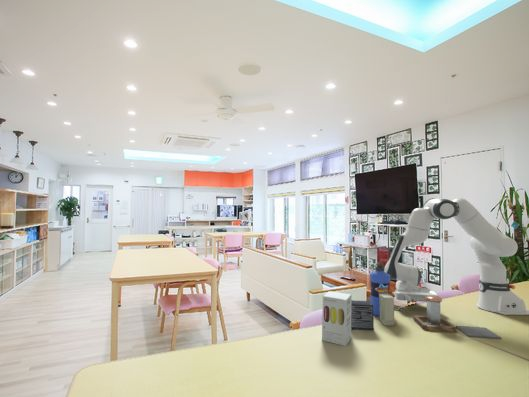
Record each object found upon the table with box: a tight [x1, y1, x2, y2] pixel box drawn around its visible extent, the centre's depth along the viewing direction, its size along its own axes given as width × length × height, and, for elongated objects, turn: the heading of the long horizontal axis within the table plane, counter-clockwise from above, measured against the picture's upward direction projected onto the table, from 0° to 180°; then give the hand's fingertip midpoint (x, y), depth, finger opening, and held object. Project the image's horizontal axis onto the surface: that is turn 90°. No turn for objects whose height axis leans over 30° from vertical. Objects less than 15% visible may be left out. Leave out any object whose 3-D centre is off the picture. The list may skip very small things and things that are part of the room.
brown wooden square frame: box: [412, 315, 457, 333], centre depth 129 cm, size 13×13×2 cm
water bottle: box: [369, 261, 391, 318], centre depth 143 cm, size 9×9×25 cm
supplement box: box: [321, 290, 352, 347], centre depth 113 cm, size 10×9×17 cm
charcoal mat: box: [455, 325, 502, 340], centre depth 122 cm, size 12×10×1 cm
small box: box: [351, 299, 375, 331], centre depth 126 cm, size 11×6×10 cm, turn 84°
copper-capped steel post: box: [425, 295, 443, 326], centre depth 129 cm, size 6×6×12 cm
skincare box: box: [379, 293, 395, 326], centre depth 131 cm, size 6×4×12 cm
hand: (422, 300), depth 141 cm, fingers open, 8 cm apart
